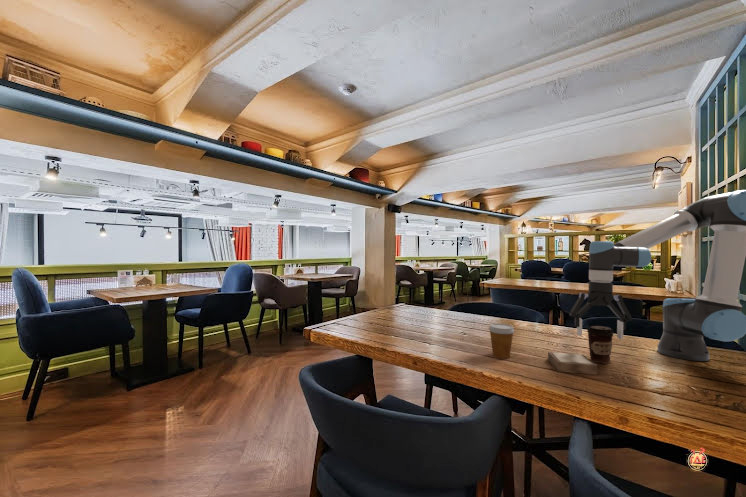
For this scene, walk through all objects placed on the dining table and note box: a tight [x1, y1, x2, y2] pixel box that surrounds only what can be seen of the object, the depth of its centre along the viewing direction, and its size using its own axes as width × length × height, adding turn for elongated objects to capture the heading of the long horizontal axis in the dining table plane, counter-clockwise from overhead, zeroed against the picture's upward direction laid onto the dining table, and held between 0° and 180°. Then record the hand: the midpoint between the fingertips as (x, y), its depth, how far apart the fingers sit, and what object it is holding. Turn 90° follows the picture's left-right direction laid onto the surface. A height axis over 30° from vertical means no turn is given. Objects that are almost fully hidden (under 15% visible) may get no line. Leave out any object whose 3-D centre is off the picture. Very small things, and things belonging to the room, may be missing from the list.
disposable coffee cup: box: [488, 323, 515, 360], centre depth 126 cm, size 10×10×12 cm
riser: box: [547, 351, 598, 376], centre depth 115 cm, size 12×12×3 cm
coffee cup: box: [586, 325, 614, 364], centre depth 121 cm, size 9×8×13 cm
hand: (599, 336), depth 121 cm, fingers open, 13 cm apart
